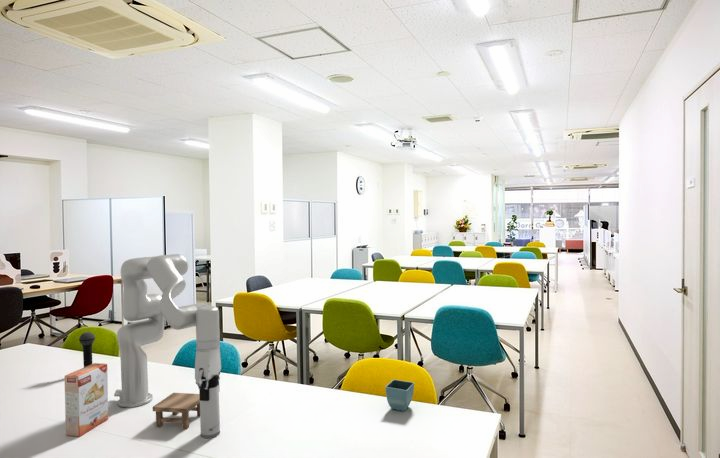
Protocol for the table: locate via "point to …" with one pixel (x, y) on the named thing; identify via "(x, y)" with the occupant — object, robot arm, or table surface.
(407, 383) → the flower pot
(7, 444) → the table surface
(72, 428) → the cracker box
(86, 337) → the microphone
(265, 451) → the table surface
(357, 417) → the table surface
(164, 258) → the robot arm
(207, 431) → the travel mug
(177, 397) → the stool
